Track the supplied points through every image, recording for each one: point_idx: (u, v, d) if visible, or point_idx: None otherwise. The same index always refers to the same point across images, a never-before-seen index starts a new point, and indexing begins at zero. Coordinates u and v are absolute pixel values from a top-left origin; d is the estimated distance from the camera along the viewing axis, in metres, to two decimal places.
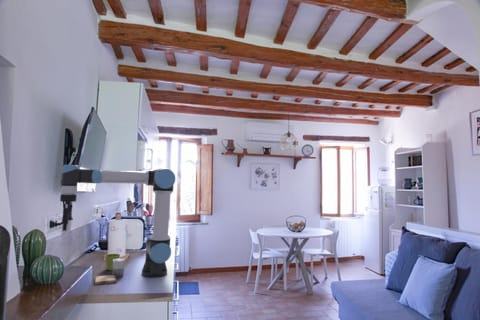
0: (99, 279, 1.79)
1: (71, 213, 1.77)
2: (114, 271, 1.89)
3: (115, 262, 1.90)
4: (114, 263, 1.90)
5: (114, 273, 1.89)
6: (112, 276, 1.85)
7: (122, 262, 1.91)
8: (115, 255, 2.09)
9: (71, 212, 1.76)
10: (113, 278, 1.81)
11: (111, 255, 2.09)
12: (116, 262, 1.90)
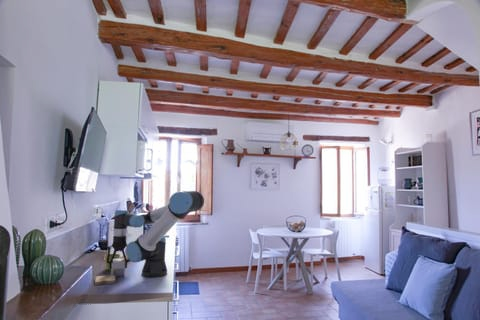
0: (99, 279, 1.79)
1: None
2: (114, 271, 1.89)
3: (115, 262, 1.90)
4: (114, 263, 1.90)
5: (114, 273, 1.89)
6: (112, 276, 1.85)
7: (122, 262, 1.91)
8: (115, 255, 2.10)
9: None
10: (113, 278, 1.81)
11: (111, 255, 2.09)
12: (116, 262, 1.90)
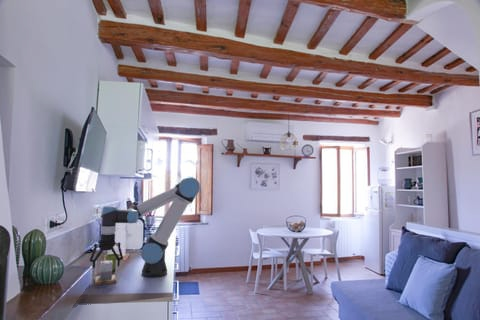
0: (99, 279, 1.79)
1: None
2: (102, 274, 1.78)
3: (103, 264, 1.78)
4: (102, 265, 1.78)
5: (102, 276, 1.78)
6: (112, 276, 1.85)
7: (110, 264, 1.80)
8: None
9: None
10: (113, 278, 1.81)
11: (111, 255, 2.09)
12: (104, 264, 1.78)
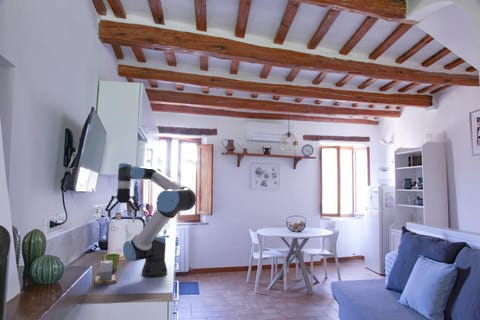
0: (99, 279, 1.79)
1: (136, 205, 2.02)
2: (102, 274, 1.78)
3: (103, 264, 1.78)
4: (102, 265, 1.78)
5: (102, 276, 1.78)
6: (112, 276, 1.85)
7: (110, 264, 1.80)
8: (115, 255, 2.09)
9: None
10: (113, 278, 1.81)
11: (111, 255, 2.09)
12: (104, 264, 1.78)
